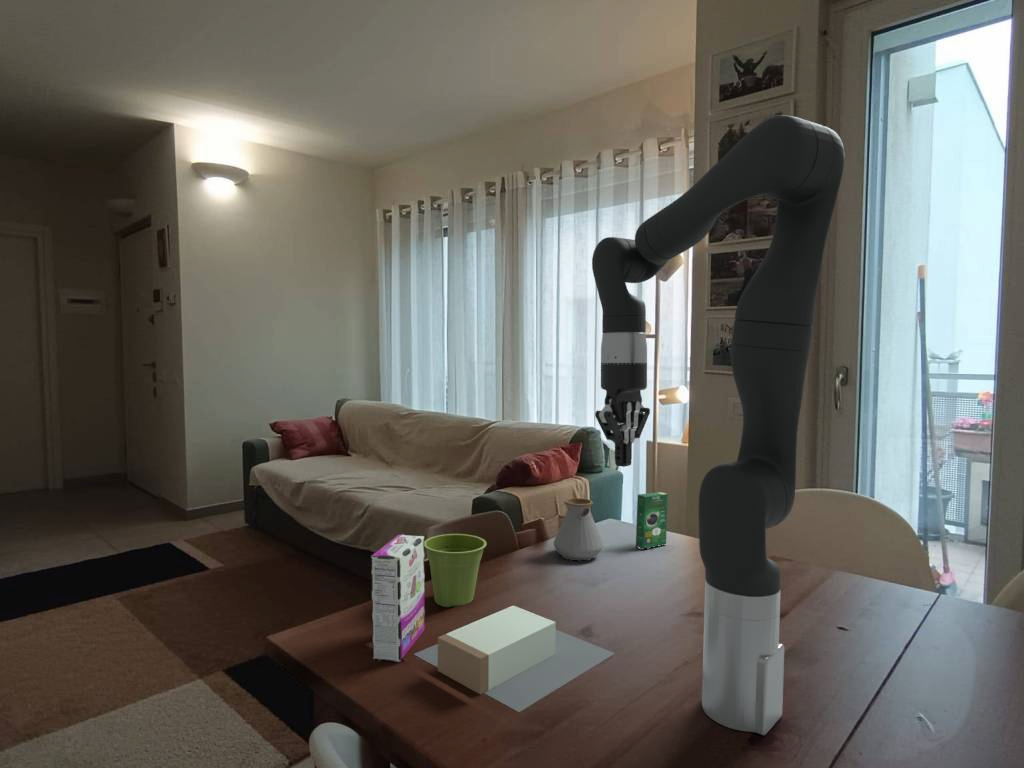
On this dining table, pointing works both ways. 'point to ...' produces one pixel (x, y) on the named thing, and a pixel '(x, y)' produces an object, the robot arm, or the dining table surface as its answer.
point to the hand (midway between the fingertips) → (623, 465)
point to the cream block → (496, 648)
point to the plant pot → (454, 567)
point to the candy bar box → (397, 597)
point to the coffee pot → (578, 532)
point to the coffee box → (651, 519)
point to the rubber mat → (541, 671)
